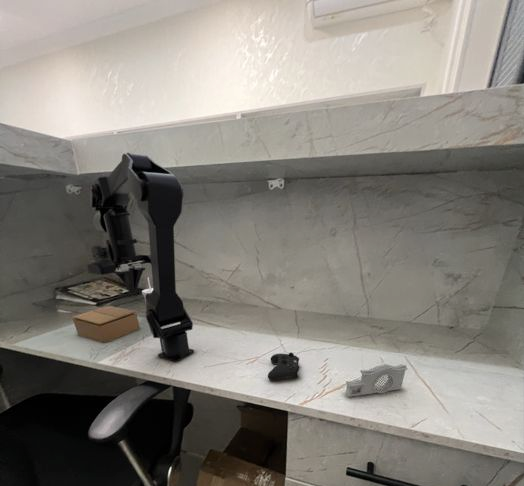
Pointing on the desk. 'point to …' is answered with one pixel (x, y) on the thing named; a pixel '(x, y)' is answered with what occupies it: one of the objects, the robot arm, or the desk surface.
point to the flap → (95, 317)
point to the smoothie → (147, 289)
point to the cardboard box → (109, 325)
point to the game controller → (284, 366)
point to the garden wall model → (373, 377)
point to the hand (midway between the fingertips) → (133, 294)
